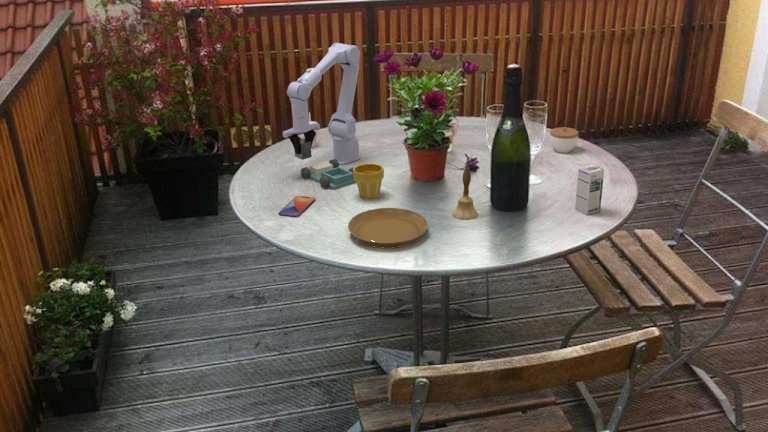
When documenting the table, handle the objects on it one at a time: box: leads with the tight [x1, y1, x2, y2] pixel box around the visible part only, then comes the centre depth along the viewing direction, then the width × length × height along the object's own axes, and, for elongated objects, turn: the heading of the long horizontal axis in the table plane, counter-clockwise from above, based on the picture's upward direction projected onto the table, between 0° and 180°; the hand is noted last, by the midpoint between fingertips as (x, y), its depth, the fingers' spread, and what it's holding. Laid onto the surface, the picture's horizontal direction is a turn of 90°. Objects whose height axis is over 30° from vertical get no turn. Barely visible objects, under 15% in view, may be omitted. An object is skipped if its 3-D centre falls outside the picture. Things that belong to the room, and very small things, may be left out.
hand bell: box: [451, 166, 479, 221], centre depth 227 cm, size 8×8×16 cm
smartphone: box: [277, 195, 316, 218], centre depth 239 cm, size 7×15×1 cm, turn 162°
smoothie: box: [308, 112, 318, 149], centre depth 292 cm, size 6×6×14 cm
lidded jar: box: [549, 126, 580, 154], centre depth 281 cm, size 11×11×9 cm
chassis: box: [300, 159, 357, 191], centre depth 261 cm, size 14×20×4 cm
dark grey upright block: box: [293, 137, 312, 160], centre depth 261 cm, size 4×5×6 cm
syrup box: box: [574, 163, 605, 216], centre depth 228 cm, size 6×6×14 cm
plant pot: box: [353, 163, 385, 200], centre depth 245 cm, size 10×10×10 cm
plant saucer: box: [347, 207, 429, 249], centre depth 219 cm, size 24×24×3 cm
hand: (303, 152), depth 262 cm, fingers closed on dark grey upright block, 4 cm apart
